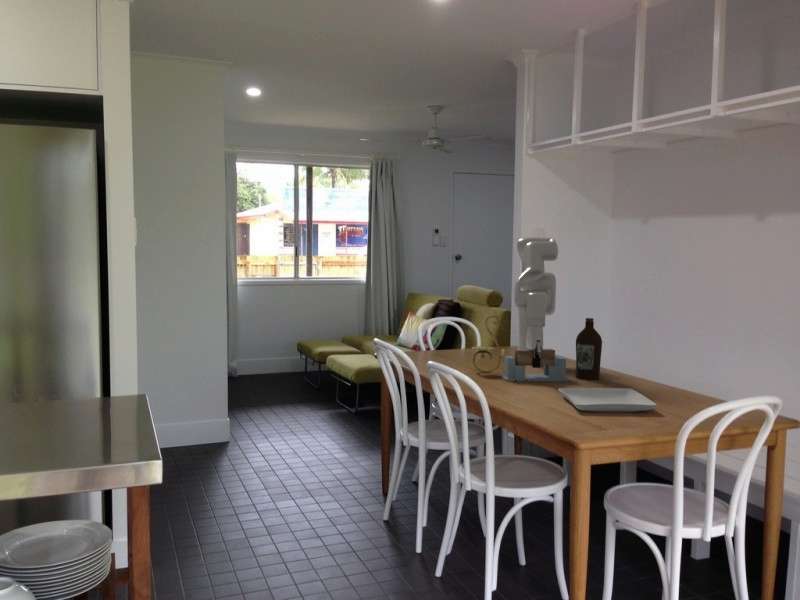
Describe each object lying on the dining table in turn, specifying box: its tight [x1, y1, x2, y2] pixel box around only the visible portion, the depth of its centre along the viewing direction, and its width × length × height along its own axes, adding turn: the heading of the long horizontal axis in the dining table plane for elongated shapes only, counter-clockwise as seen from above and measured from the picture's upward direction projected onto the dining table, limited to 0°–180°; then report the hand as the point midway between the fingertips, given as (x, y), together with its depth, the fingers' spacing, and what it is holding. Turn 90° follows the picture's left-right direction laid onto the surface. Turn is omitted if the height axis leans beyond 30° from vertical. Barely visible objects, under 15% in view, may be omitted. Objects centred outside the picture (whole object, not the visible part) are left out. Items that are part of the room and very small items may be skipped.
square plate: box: [557, 387, 658, 413], centre depth 246 cm, size 27×27×4 cm
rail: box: [514, 348, 556, 367], centre depth 292 cm, size 4×16×6 cm, turn 102°
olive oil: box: [575, 317, 603, 381], centre depth 295 cm, size 11×11×25 cm
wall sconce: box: [471, 314, 506, 373], centre depth 304 cm, size 14×10×25 cm
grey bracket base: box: [500, 355, 570, 382], centre depth 292 cm, size 10×26×9 cm, turn 93°
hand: (534, 366), depth 292 cm, fingers closed on rail, 4 cm apart
